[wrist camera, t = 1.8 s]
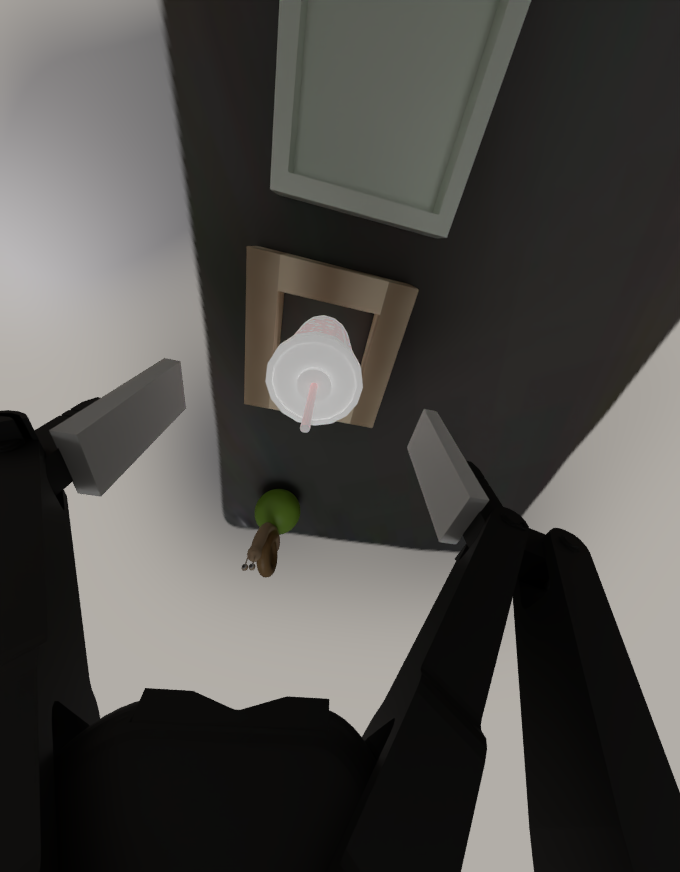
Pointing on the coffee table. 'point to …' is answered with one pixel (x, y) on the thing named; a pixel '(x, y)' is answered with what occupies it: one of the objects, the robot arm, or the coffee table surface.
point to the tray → (387, 103)
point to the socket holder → (332, 285)
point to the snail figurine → (271, 528)
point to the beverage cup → (315, 374)
